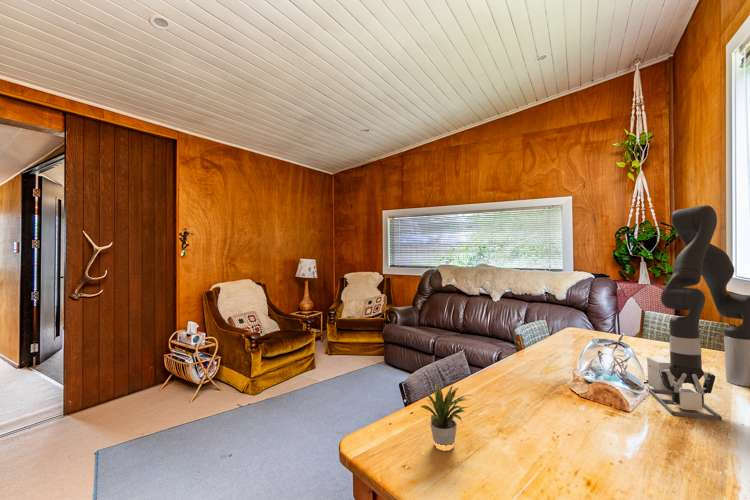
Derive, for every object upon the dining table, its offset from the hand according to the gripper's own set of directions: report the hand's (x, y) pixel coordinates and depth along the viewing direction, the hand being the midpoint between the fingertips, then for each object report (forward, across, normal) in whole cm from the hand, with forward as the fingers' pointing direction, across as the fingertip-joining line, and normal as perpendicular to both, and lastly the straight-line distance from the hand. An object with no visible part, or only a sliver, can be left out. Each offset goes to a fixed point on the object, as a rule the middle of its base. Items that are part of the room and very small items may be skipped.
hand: (687, 404), depth 111 cm
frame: (+2, 0, -10) cm, 10 cm away
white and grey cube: (+1, 0, 0) cm, 1 cm away
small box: (+2, 0, -19) cm, 20 cm away
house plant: (+2, +69, +46) cm, 83 cm away
